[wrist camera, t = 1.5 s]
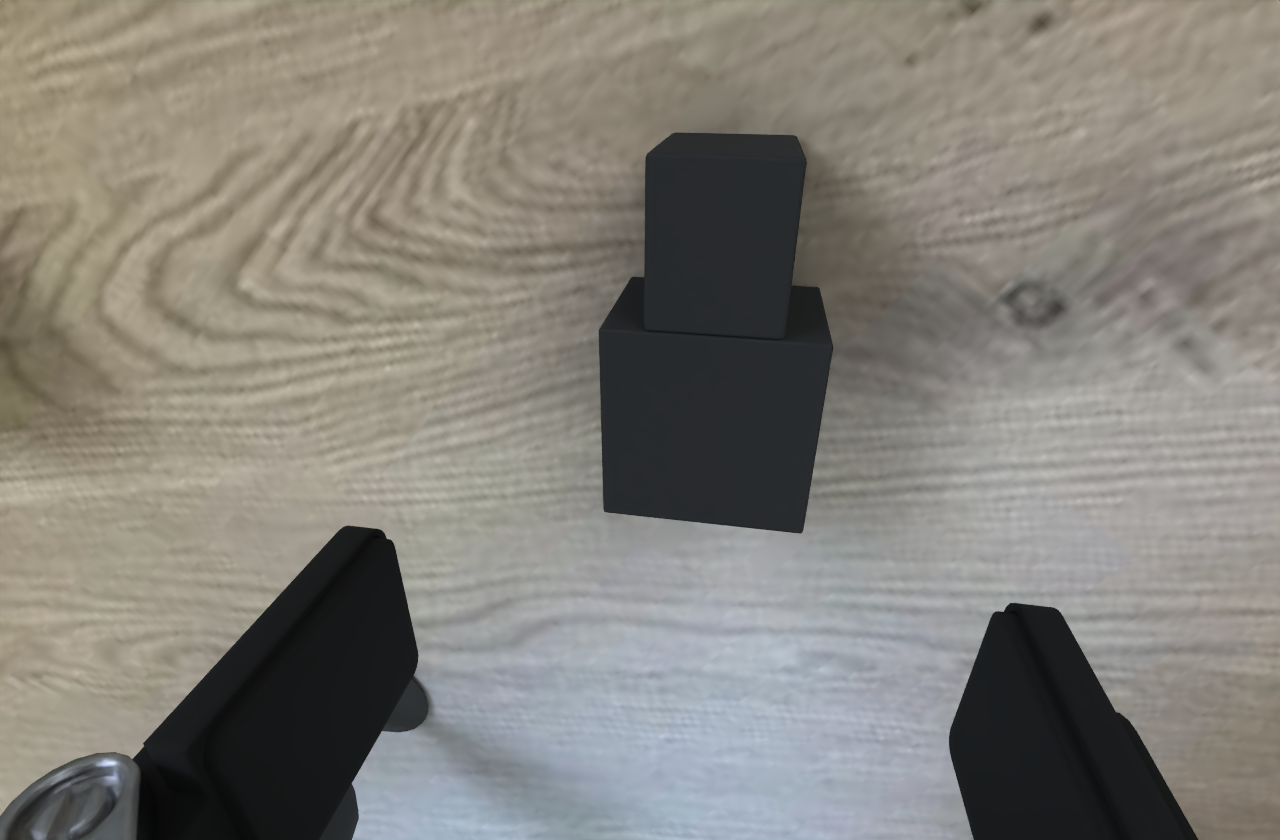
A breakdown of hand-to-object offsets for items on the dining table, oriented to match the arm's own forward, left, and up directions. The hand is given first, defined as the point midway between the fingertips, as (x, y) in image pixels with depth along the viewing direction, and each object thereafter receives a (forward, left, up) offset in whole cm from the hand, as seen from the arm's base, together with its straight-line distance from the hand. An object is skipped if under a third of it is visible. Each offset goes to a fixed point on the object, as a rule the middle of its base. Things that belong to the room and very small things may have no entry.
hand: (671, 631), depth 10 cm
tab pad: (-2, 0, -10) cm, 10 cm away
